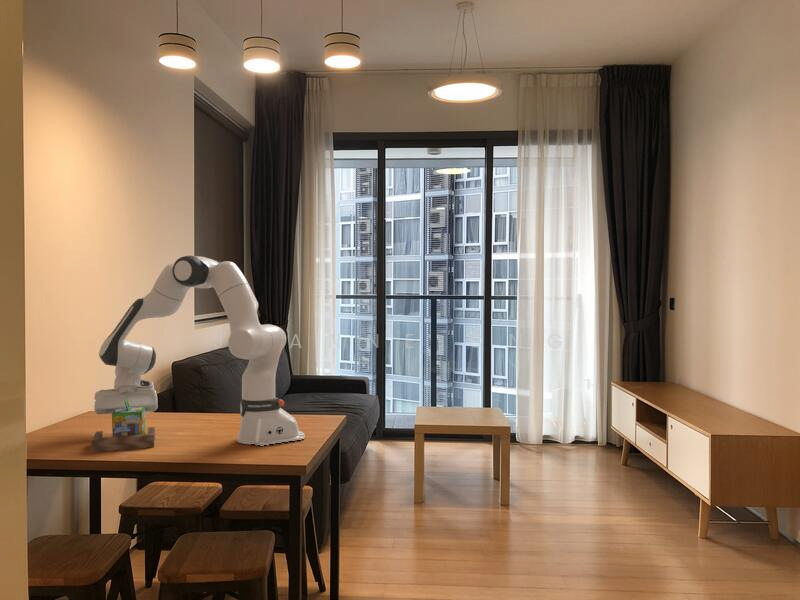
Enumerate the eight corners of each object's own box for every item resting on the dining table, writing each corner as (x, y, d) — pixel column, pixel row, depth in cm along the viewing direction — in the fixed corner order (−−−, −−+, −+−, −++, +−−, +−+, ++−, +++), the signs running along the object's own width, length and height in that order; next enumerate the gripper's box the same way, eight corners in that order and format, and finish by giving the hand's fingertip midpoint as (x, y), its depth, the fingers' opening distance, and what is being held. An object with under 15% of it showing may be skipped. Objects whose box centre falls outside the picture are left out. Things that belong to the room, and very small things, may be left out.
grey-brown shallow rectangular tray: (154, 438, 203) (154, 427, 203) (154, 447, 192) (153, 434, 192) (96, 443, 197) (95, 431, 196) (91, 452, 185) (91, 439, 185)
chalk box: (142, 446, 193) (142, 401, 192) (111, 448, 190) (111, 402, 190) (146, 440, 201) (146, 396, 201) (117, 441, 199) (116, 397, 199)
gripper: (94, 385, 207) (91, 418, 198) (157, 381, 214) (157, 414, 205) (95, 395, 211) (92, 429, 202) (157, 392, 218) (157, 424, 209)
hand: (125, 421), depth 204 cm, fingers closed
